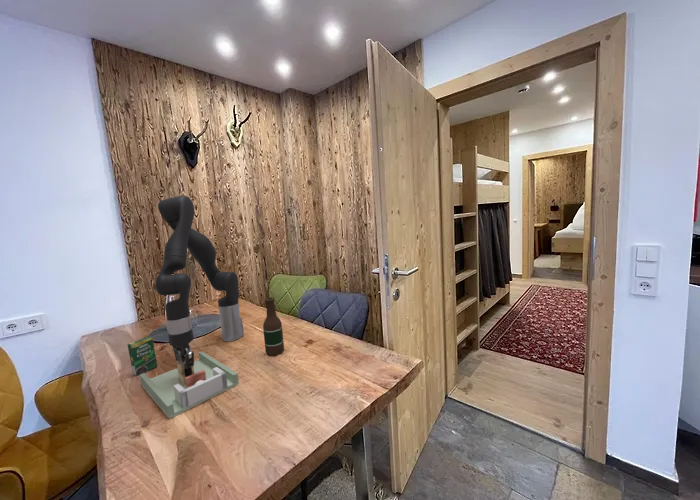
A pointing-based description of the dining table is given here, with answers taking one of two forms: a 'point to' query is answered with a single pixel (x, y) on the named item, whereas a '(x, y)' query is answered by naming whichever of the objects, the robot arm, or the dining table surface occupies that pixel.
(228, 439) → the dining table surface
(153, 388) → the pitch
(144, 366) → the coffee box
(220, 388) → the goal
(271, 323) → the beer bottle
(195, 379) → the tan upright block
